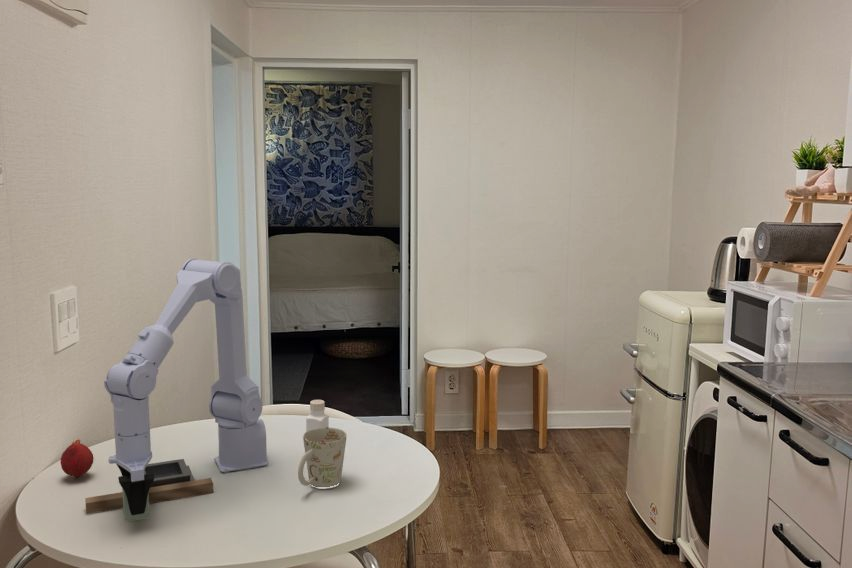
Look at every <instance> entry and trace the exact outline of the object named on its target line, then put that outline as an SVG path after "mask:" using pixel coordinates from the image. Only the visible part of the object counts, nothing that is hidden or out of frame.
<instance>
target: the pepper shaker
mask: <svg viewBox="0 0 852 568" xmlns="http://www.w3.org/2000/svg"><path fill="white" fill-rule="evenodd" d="M325 402H326V401H324V400H322V399H313V400H311V401H310V402H309V403H310V404H309V407H310V408H309V409H310V414H308V415H307V417H306V419H305V422H306V423H305V426H306V427H305V428H306V431H305V433H306V432H307V431H309V430H312V429H316V428H325V427H328V428H330V426H329V425H330V423H329V422H330V420H329V415H328V414H326V413H325V411H326V410H325V409H326V408H325Z"/></svg>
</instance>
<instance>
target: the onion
mask: <svg viewBox="0 0 852 568" xmlns="http://www.w3.org/2000/svg"><path fill="white" fill-rule="evenodd" d="M94 458H95V457H94V454H93V452H92V451H91V449H90V448H89V447H88V446H87V445H85V444H83V443H81V439H79V438H76V439H74V441H72V443H71V444H70V445H68V447H66V449H64V451H63V453H61V457H60V461H59V462H60V466H61V469H62V471H63V473H64V474H66V475H68V476H70V477H72V478H74V479H81V478H82V477H83V476H84V475H86V473H88V471H89V470H90V469H91V468H92V466H93V464H94Z"/></svg>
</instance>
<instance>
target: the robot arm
mask: <svg viewBox="0 0 852 568" xmlns="http://www.w3.org/2000/svg"><path fill="white" fill-rule="evenodd" d="M241 282H242V281H241V269H240V268H239V267H237V266H236V265H235V264H233V263H232V262H231V261H214V260H206V259H205V260H204V259H197V258H189V259H187V260H186V261H185V262H184V263H183V264H182V267H181V268H180V270H179V271H178V272H177V274H176V286H175V288H174V290H173V292H172V293H171V295H170V297H169V299H168V300H167V302H166V305H164V308H163V310H162V311H161V313H160V314H159V317H158V318H157V320H156V322H155V323H154V324H153V325H150V326H146V327H144V328H143V329H142V330H141V331H140V332H139V334H137V335H138V338H136V340H135V342H134V343H133V344H132V347H131V348H130V349H129V351H128V352H127V354H126V355H125V356H124V357H123V359H122V361H121V362H120V361H119V362H117V363H115V364H114V365H113V366H112V367H110V368H109V370H108V372H107V375H106V378H105V380H104V381H103V386H104V388H105V390H106V391H107V393H108V394H109V396H110V402H111V403H112V405H113V407H112V408H113V421H114V422H113V423H114V443H115V447H114V448H115V455H110V456H108V463H109V464H112V465H113V464H116V466H117V468H118V469H119V471H120V473H121V476H118V478H117V479H118V483H119V485H120V487H121V489H122V488H123V490H124V492H125V494H126V496H127V500H128V505H129V509H130V512H131V515H138V514H143V513H144V512H145V508H146V503H147V497H148V492H149V489H150V487H151V485H152V483H153V481H154V474H146V475H144V469H145V468H146V466H147V465H148V464H150V462H151V460H152V459H153V451H152V449H151V446H152V443H151V426H150V425H151V424H150V423H151V422H150V400H149V399H150V398H149V397H150V395H151V394H152V392H153V391H154V390H155V388H156V385H157V377H158V374H159V368H160V366H161V364H162V363H163V361H164V359H165V358H166V356H167V355H168V353H169V352H170V350H171V349H172V347H173V345H174V337H173V333H175V331H176V330H177V328H178V327H179V326H180V324H181V323H182V322H183V321H184V319H185V318H186V317H187V315H188V314H189V312H190V311H191V310H192V308H193V307H195V305H196V304H197V303H198V302H203V301H208V300H209V301H210V302H212V303H213V304H214V310H215V312H214V314H215V330H216V343H217V344H216V346H217V362H218V378H219V379H217V380H216V381H215V382H214V383H212V385H211V386H210V393H211V394H210V397H209V402H208V410H209V413H210V414H211V416H212V417H214V418H215V419H214V420H215V421H214V422H215V423H217V430H218V431H217V434H218V435H217V436H218V456H214V458H213V459H214V461H215V463H216V465H217V467H218V469H219V471H220V472H221V473H229V472H235V471H240V470H247V469H254V468H261V467H266V466H268V460H267V458H268V456H267V454H268V453H267V451H268V450H267V428H266V425H265V422H264V419H262V418H260V417H261V415H262V412H263V400H262V397H261V395H260V392H259V391H260V390H259V386H258V385H257V383H256V382H254V381H253V380H252V379H251V378H250V377H249V376H248V375H247V374H248V373H247V371H248V370H247V356H246V355H247V354H246V340H245V322H244V321H245V320H244V317H245V316H244V304H243V303H244V301H243V300H244V299H243V290H242V283H241Z"/></svg>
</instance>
